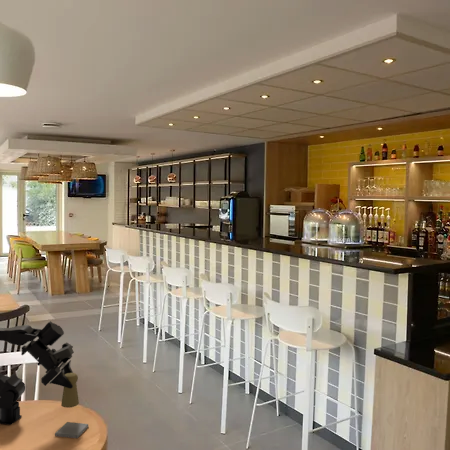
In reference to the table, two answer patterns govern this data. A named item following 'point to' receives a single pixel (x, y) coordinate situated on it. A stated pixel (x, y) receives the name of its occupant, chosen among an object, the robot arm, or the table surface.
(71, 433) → the coaster
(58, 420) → the table surface
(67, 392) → the cork
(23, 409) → the table surface
